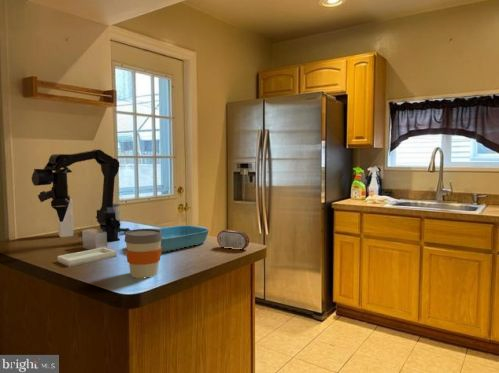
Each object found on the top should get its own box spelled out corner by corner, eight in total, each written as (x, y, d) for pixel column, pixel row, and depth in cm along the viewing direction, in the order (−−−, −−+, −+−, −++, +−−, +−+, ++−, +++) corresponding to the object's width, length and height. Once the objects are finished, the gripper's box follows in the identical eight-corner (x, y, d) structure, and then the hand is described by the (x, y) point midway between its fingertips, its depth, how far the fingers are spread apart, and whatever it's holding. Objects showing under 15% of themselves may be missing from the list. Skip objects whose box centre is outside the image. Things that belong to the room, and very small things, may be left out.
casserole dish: (187, 236, 196) (187, 222, 196) (217, 242, 182) (217, 228, 181) (123, 249, 168) (122, 233, 168) (153, 258, 154) (152, 241, 153)
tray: (104, 252, 161) (103, 247, 161) (116, 256, 155) (116, 251, 155) (57, 261, 147) (57, 256, 147) (69, 266, 141) (69, 260, 140)
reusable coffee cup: (138, 267, 140) (138, 227, 139) (169, 270, 137) (168, 229, 135) (117, 278, 128) (116, 234, 127) (150, 281, 125) (149, 237, 123)
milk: (60, 237, 189) (58, 193, 187) (58, 235, 194) (56, 192, 192) (73, 236, 193) (72, 192, 191) (71, 233, 198) (69, 191, 196)
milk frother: (105, 229, 209) (104, 203, 208) (134, 229, 211) (134, 203, 209) (97, 235, 195) (97, 206, 194) (129, 234, 197) (128, 206, 195)
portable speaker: (249, 250, 168) (249, 231, 167) (246, 251, 165) (246, 232, 164) (219, 246, 174) (219, 228, 173) (216, 247, 171) (216, 229, 170)
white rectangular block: (93, 245, 173) (93, 228, 173) (107, 250, 166) (106, 232, 165) (82, 247, 170) (82, 230, 169) (96, 252, 162) (95, 233, 161)
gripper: (41, 182, 167) (43, 217, 169) (35, 186, 150) (38, 225, 152) (69, 181, 171) (71, 215, 173) (66, 185, 154) (68, 223, 156)
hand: (62, 219), depth 163 cm, fingers open, 9 cm apart
